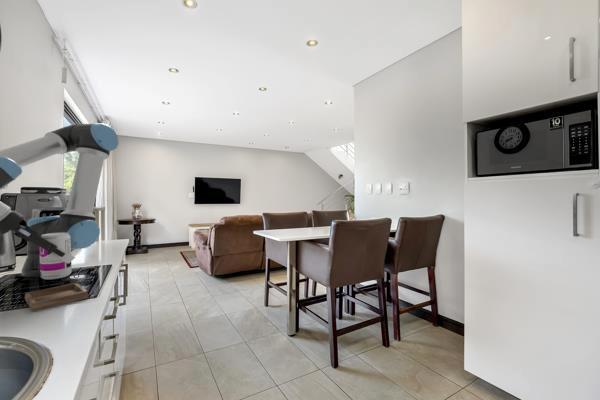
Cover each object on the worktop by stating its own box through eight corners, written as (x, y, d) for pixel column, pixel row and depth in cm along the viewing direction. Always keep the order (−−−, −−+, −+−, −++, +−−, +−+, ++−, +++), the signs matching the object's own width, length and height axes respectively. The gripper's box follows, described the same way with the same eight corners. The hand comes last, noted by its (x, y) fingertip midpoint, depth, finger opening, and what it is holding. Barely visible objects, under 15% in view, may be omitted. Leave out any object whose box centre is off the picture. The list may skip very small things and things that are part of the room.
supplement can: (53, 280, 91) (51, 236, 90) (34, 279, 93) (32, 235, 92) (77, 273, 99) (76, 232, 98) (59, 271, 101) (58, 231, 100)
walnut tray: (25, 300, 84) (24, 293, 84) (76, 288, 94) (76, 282, 94) (32, 311, 77) (32, 303, 76) (87, 297, 87) (87, 291, 86)
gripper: (-15, 224, 89) (51, 262, 103) (-9, 231, 76) (66, 273, 90) (8, 207, 93) (69, 245, 107) (17, 211, 80) (86, 254, 94)
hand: (68, 258), depth 98 cm, fingers closed on supplement can, 8 cm apart
